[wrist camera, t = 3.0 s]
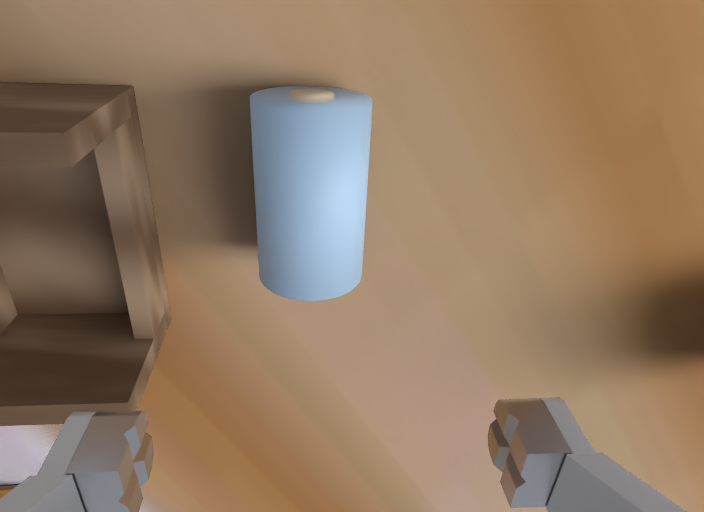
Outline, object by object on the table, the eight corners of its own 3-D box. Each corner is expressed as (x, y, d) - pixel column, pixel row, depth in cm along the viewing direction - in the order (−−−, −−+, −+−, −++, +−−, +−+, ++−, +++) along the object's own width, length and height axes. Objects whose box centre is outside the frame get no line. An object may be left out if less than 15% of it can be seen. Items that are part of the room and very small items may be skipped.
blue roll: (359, 251, 29) (364, 304, 25) (265, 249, 29) (253, 303, 24) (368, 83, 25) (377, 109, 20) (257, 79, 24) (240, 105, 20)
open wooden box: (171, 318, 30) (132, 421, 24) (13, 321, 30) (-75, 428, 23) (133, 85, 24) (63, 132, 17) (-72, 80, 23) (-234, 127, 16)
